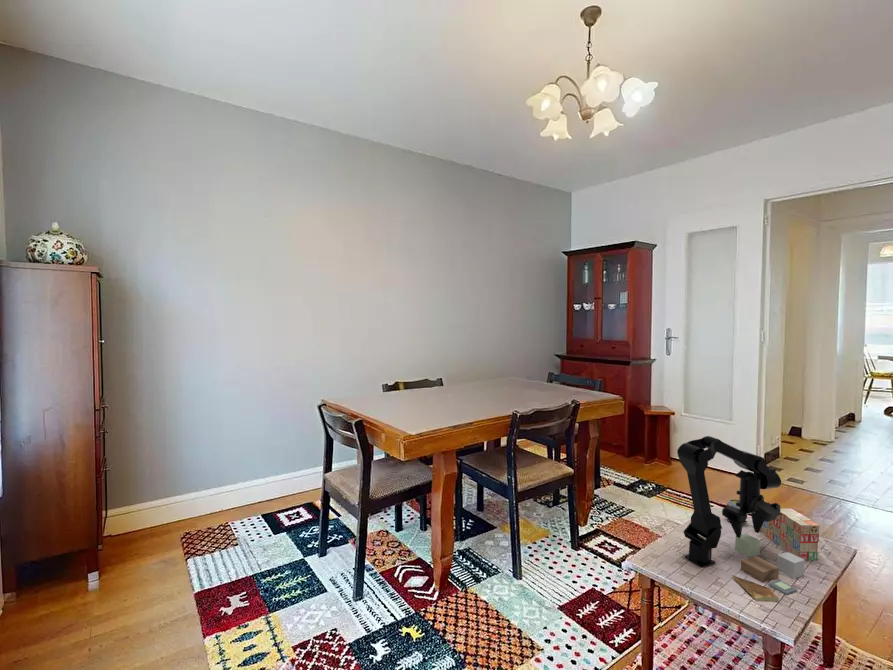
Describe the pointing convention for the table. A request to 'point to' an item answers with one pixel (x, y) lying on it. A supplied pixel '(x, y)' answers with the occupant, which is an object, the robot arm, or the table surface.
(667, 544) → the table surface
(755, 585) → the shard
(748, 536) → the sage cube
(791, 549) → the stack of blocks
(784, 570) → the grey cube
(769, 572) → the walnut block
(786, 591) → the card
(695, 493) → the robot arm
